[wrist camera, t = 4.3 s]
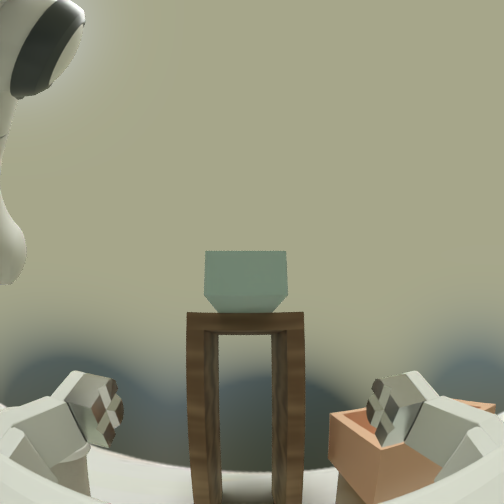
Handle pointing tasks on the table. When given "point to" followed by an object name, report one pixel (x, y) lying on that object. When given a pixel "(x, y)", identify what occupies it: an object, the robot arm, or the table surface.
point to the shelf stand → (283, 399)
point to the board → (245, 280)
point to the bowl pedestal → (376, 460)
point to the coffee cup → (72, 469)
